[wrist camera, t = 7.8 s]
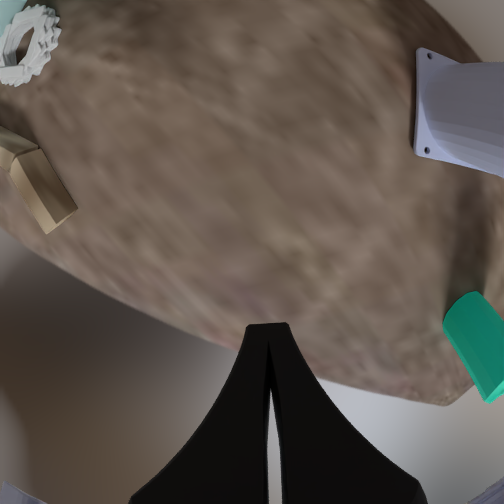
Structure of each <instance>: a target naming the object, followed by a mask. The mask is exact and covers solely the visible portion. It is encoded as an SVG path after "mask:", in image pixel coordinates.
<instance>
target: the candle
mask: <svg viewBox="0 0 504 504" xmlns="http://www.w3.org/2000/svg"><path fill="white" fill-rule="evenodd" d="M442 324H443V331H444V333H445V334H446V336H447V338H448V339H449V341H450V342H451V344H452V346H453V347H454V349H455V350H456V352H457V354H458V355H459V357H460V359H461V360H462V362H463V364H464V365H465V367H466V369H467V371H468V372H469V374H470V376H471V378H472V380H473V381H474V383H475V385H476V386H477V389H478V391H479V393H480V394H481V396H482V398H483V400H484V401H485V402H487V403H489V404H490V403H491V402H493V401H494V400H495V399H496V398H497V397H499V396H501V395H503V394H504V321H503V319H502V318H501V317H500V316H499V315H498V313H497V312H496V311H495V310H494V309H493V307H492V306H491V305H490V304H489V303H488V302H487V300H486V299H485V298H484V297H483V296H482V295H481V294H480V293H479V292H477V291H474V292H469V293H466V294H465V295H464V296H462V297H461V298H460V299H458V300H457V301H456V302H455V303H454V304H453V306H452V307H451V308H450V309H449V311H448V312H447V314H446V316H445V319H444V321H443V323H442Z"/></svg>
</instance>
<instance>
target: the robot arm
mask: <svg viewBox="0 0 504 504" xmlns="http://www.w3.org/2000/svg"><path fill="white" fill-rule="evenodd" d="M427 54H428V55H429V56H430V59H429V58H428V57H427ZM416 69H417V96H416V120H415V134H414V146H413V150H414V153H415V154H416V155H418V156H422V157H427V158H431V159H436V160H441V161H445V162H450V163H454V164H458V165H462V166H466V167H470V168H473V169H477V170H481V171H484V172H488V173H491V174H496V175H498V176H500V177H502V178H504V62H480V63H465V64H461V63H458V62H456V61H454V60H452V59H450V58H447V57H445V56H443V55H440V54H438V53H436V52H433V51H431V50H428V49H425V48H418V49H417V50H416ZM425 147H426V148H427V152H426V153H425V152H424V149H425ZM270 391H271V392H272V399H273V405H274V412H275V419H276V425H277V431H278V437H279V446H280V461H281V483H282V504H428V503H427V499H426V496H425V493H424V491H423V489H422V487H421V485H420V483H419V481H418V480H417V479H415V478H414V477H412V476H411V475H409V474H408V473H407V472H405V471H404V470H402V469H401V468H400V467H398V466H397V465H396V464H394V463H393V462H392V461H390V460H389V459H388V458H387V457H386V456H384V455H383V454H382V453H381V452H380V451H378V450H377V449H376V448H375V447H374V446H373V445H372V444H371V443H370V442H369V441H368V440H367V439H366V438H365V437H363V435H362V434H361V433H360V432H359V431H357V430H356V428H354V426H353V425H352V424H351V423H350V422H349V421H348V420H347V419H346V418H345V416H344V415H343V414H342V413H341V412H340V410H339V409H338V408H337V407H336V406H335V404H334V403H333V402H332V400H331V399H330V398H329V396H328V395H327V394H326V392H325V391H324V389H323V388H322V387H321V385H320V384H319V382H318V381H317V379H316V378H315V376H314V374H313V373H312V371H311V370H310V368H309V366H308V364H307V363H306V361H305V359H304V358H303V356H302V354H301V352H300V350H299V348H298V346H297V344H296V342H295V340H294V337H293V335H292V333H291V330H290V327H289V324H287V323H286V322H282V323H267V324H249V325H248V326H247V327H246V330H245V335H244V339H243V342H242V345H241V348H240V351H239V353H238V356H237V358H236V361H235V363H234V365H233V368H232V370H231V372H230V374H229V377H228V379H227V380H226V383H225V385H224V386H223V388H222V390H221V392H220V394H219V396H218V398H217V399H216V401H215V403H214V404H213V406H212V408H211V409H210V411H209V412H208V414H207V415H206V417H205V418H204V420H203V421H202V423H201V424H200V426H199V427H198V428H197V430H196V431H195V432H194V434H193V435H192V436H191V438H190V439H189V440H188V441H187V443H186V444H185V445H184V446H183V448H182V449H181V450H180V451H179V452H178V453H177V454H176V455H175V456H174V457H173V458H172V460H171V461H170V462H169V463H168V464H167V465H166V466H165V467H164V468H163V469H162V470H161V471H160V472H159V473H158V474H157V475H156V476H155V477H154V478H152V479H151V480H150V481H149V482H148V483H147V484H145V485H144V486H143V487H142V488H141V489H139V490H138V491H137V492H136V493H135V494H134V495H133V496H131V498H130V500H129V503H128V504H269V490H268V460H267V441H268V425H269V409H270ZM0 504H46V503H45V502H43V501H41V500H39V499H37V498H35V497H32V496H30V495H28V494H27V493H25V492H23V491H21V490H20V489H18V488H17V487H15V486H13V485H12V484H10V483H9V482H7V481H4V482H3V486H2V489H1V492H0ZM466 504H504V477H503V478H501V479H500V480H499V481H498V482H496V483H495V484H493V485H492V486H490V487H489V488H487V489H486V490H485V492H483V493H482V494H480V495H479V496H477V497H476V498H474V499H472V500H471V501H469V502H467V503H466Z"/></svg>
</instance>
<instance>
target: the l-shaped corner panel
mask: <svg viewBox="0 0 504 504" xmlns="http://www.w3.org/2000/svg"><path fill="white" fill-rule="evenodd" d="M26 2H27V0H0V80H1V82H2V84H4V83H5V85H6V84H8V83H9V85H12V84H13V83H14V86H15V87H17V86H19V85H20V84H21V83H23V82H24V83H27V82H29V81H30V79H31V76H32V74H34V75H39V74H40V72H41V70H42V68H43V66H44V64H45V63H47V62H48V61H49V60H50V59H51V55H50V51H51V50H52V49H54V48H55V47H57V46H58V36H59V34H60V33H61V30H62V29H60V28H57V27H56V25H57V23H58V21H59V19H60V18H59V17H56V16H55V10H54V9H49V7H48V8H47V9H46V6H45V5H42V6H39V4H37V5H36V6H35V7H34V6H33V7H32V8H31V6H28V7H27V8H26V9H25V10H24V11H22V12H21V10H22V8H23V7H24V5H25V3H26ZM32 27H34V34H33V36H32V39H31V42H30V45H29V48H28V51H27V54H26V56H25V57H24V58H23V59H22V60H21V61H20V63H19V64H18V65H17V62H16V52H15V51H16V49H17V47H18V45H19V43H20V41H21V39H22V37H23V35H24V33H26V32H27V31H28V30H29V29H31V28H32Z"/></svg>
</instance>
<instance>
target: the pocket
mask: <svg viewBox="0 0 504 504" xmlns="http://www.w3.org/2000/svg"><path fill="white" fill-rule="evenodd" d="M0 167H2V168H3V169H5V170H6V171H8V172H9V174H10V175H11V177H12V179H13V181H14V183H15V185H16V187H17V188H18V190H19V192H20V194H21V195H22V197H23V199H24V200H25V202H26V204H27V205H28V207H29V209H30V210H31V212H32V214H33V215H34V217H35V218H36V220H37V221H38V223H39V224H40V226H41V227H42V229H43V230H44V232H45V233H46V235H47V234H48V233H49V232H51V231H52V230H53V229H55V228H56V227H57V226H59V225H60V224H61V223H63V222H64V221H65V220H67V219H68V218H69V217H70V216H71V215H72V214H73V213H74V212H75V211H76V210H77V209H78V208H77V206H76V205H75V203H74V202H73V200H72V199H71V197H70V196H69V194H68V193H67V191H66V189H65V188H64V186H63V185H62V183H61V181H60V180H59V178H58V177H57V175H56V173H55V172H54V170H53V168H52V167H51V165H50V163H49V161H48V160H47V158H46V156H45V154H44V153H43V151H42V149H38V145H36V144H34V143H32V142H30V141H29V140H27V139H25V138H23V137H21V136H19V135H17V134H15V133H13V132H12V131H10V130H8V129H6V128H4V127H2V126H0Z"/></svg>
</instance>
